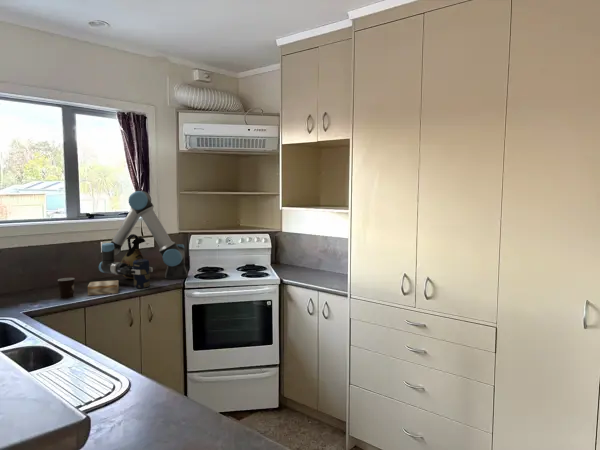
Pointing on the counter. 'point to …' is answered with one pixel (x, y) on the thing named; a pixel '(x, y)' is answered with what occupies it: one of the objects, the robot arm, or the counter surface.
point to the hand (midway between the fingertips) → (146, 270)
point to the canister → (141, 273)
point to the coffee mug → (66, 287)
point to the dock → (103, 287)
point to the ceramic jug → (132, 253)
